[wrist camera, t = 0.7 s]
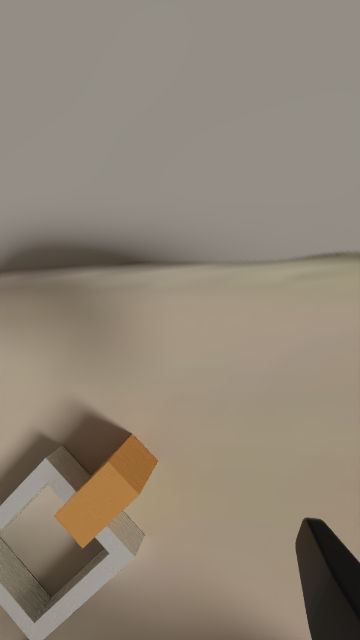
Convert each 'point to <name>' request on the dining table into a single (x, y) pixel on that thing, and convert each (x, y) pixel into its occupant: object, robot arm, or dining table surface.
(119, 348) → the dining table surface
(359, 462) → the dining table surface
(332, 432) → the dining table surface
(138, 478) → the grey frame with tab
